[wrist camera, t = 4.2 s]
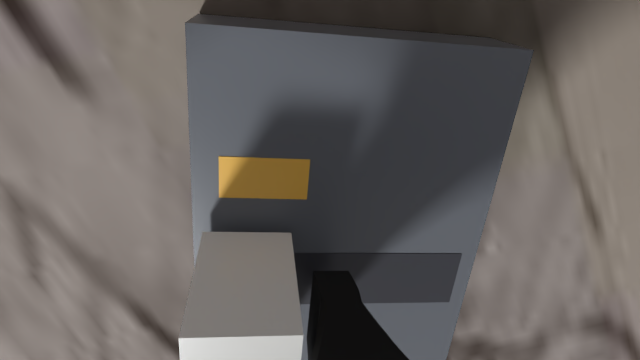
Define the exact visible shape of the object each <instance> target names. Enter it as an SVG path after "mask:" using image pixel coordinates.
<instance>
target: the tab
mask: <svg viewBox="0 0 640 360" xmlns="http://www.w3.org/2000/svg"><path fill="white" fill-rule="evenodd" d="M302 346H303V327H302V318H301V310H300V301H299V293H298V285H297V276H296V268H295V259H294V251H293V243H292V234H291V233H281V232H202V236H201V240H200V245H199V249H198V254H197V258H196V263H195V267H194V272H193V276H192V281H191V285H190V290H189V294H188V299H187V303H186V307H185V312H184V316H183V321H182V325H181V330H180V334H179V353H180V360H301V356H302Z"/></svg>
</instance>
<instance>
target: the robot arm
mask: <svg viewBox="0 0 640 360" xmlns="http://www.w3.org/2000/svg"><path fill="white" fill-rule="evenodd" d="M307 352H308V360H409V359H408V358H407V357H406V355H405V354H404V353H403V352H402V351H401V350H400V349H399V348H398V346H397V345H396V344H395V343H394V342H393V341H392V339H391V338H390V337H389V336H388V334H387V333H386V332H385V331H384V330H383V328H382V327H381V326H380V325H379V323H378V322H377V321H376V320H375V318H374V317H373V316H372V314H371V313H370V312H369V311H368V309H367V308H366V307H365V305H364V304H363V302H362V300H361V296H360V292H359V289H358V287H357V285H356V283H355V281H354V279H353V277H352V276H351V274H350V272H349V271H313V278H312V288H311V298H310V308H309V318H308V328H307Z"/></svg>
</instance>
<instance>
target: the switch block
mask: <svg viewBox="0 0 640 360" xmlns="http://www.w3.org/2000/svg"><path fill="white" fill-rule="evenodd" d="M185 32H186V58H187V85H188V112H189V138H190V165H191V191H192V218H193V245H194V267H195V263H196V258H197V254H198V249H199V245H200V240H201V236H202V232H281V233H291V234H292V243H293V251H294V259H295V268H296V276H297V285H298V293H299V301H300V310H301V318H302V327H303V346H302V356H301V360H308V352H307V328H308V318H309V308H310V298H311V288H312V278H313V271H349V272H350V274H351V276H352V277H353V279H354V281H355V283H356V285H357V287H358V289H359V292H360V296H361V300H362V302H363V304H364V305H365V307H366V308H367V309H368V311H369V312H370V313H371V314H372V316H373V317H374V318H375V320H376V321H377V322H378V323H379V325H380V326H381V327H382V328H383V330H384V331H385V332H386V333H387V334H388V336H389V337H390V338H391V339H392V341H393V342H394V343H395V344H396V345H397V346H398V348H399V349H400V350H401V351H402V352H403V353H404V354H405V355H406V357H407V358H408V359H409V360H446V358H447V354H448V351H449V347H450V344H451V340H452V337H453V333H454V330H455V326H456V323H457V319H458V316H459V312H460V309H461V305H462V302H463V298H464V295H465V291H466V288H467V284H468V280H469V277H470V273H471V270H472V266H473V263H474V259H475V256H476V252H477V249H478V245H479V242H480V238H481V235H482V231H483V228H484V224H485V221H486V217H487V214H488V210H489V206H490V203H491V199H492V196H493V192H494V189H495V185H496V182H497V178H498V175H499V171H500V168H501V164H502V161H503V157H504V154H505V150H506V147H507V143H508V140H509V136H510V132H511V129H512V125H513V122H514V118H515V115H516V111H517V108H518V104H519V101H520V97H521V94H522V90H523V87H524V83H525V80H526V76H527V73H528V69H529V66H530V62H531V58H532V55H533V51H534V50H531V49H528V48H524V47H521V46H517V45H514V44H510V43H507V42H503V41H499V40H496V39H492V38H487V37H474V36H462V35H450V34H438V33H426V32H414V31H402V30H389V29H377V28H365V27H353V26H341V25H329V24H317V23H305V22H292V21H280V20H268V19H256V18H244V17H232V16H220V15H207V14H197V15H196V16H194V17H193V18H191V19H190V20H188V21H187V22H185Z"/></svg>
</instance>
